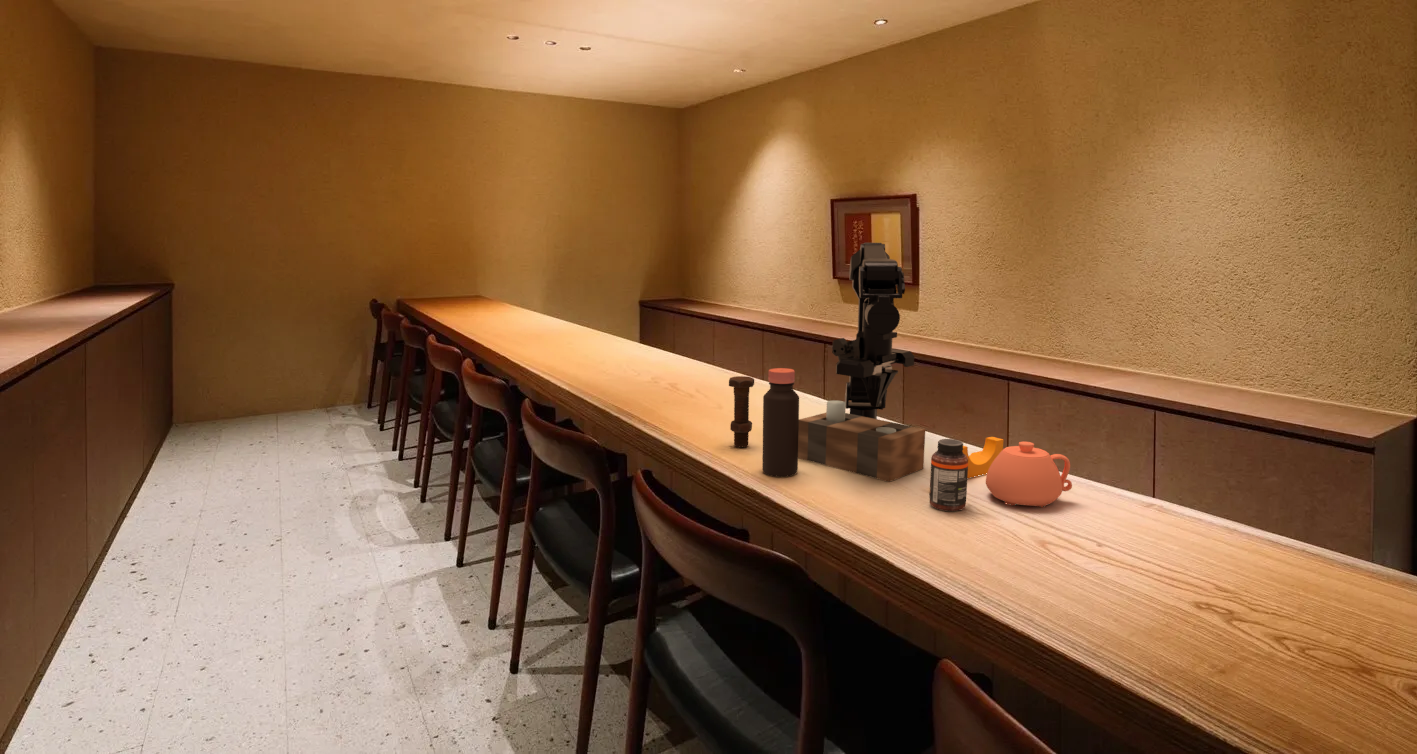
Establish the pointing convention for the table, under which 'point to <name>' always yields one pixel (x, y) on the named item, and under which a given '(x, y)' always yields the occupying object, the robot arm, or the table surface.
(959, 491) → the supplement bottle
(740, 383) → the bolt
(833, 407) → the peg
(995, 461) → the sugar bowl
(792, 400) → the dark brown bottle
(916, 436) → the socket block
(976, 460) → the orange tape dispenser
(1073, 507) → the table surface
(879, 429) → the peg
